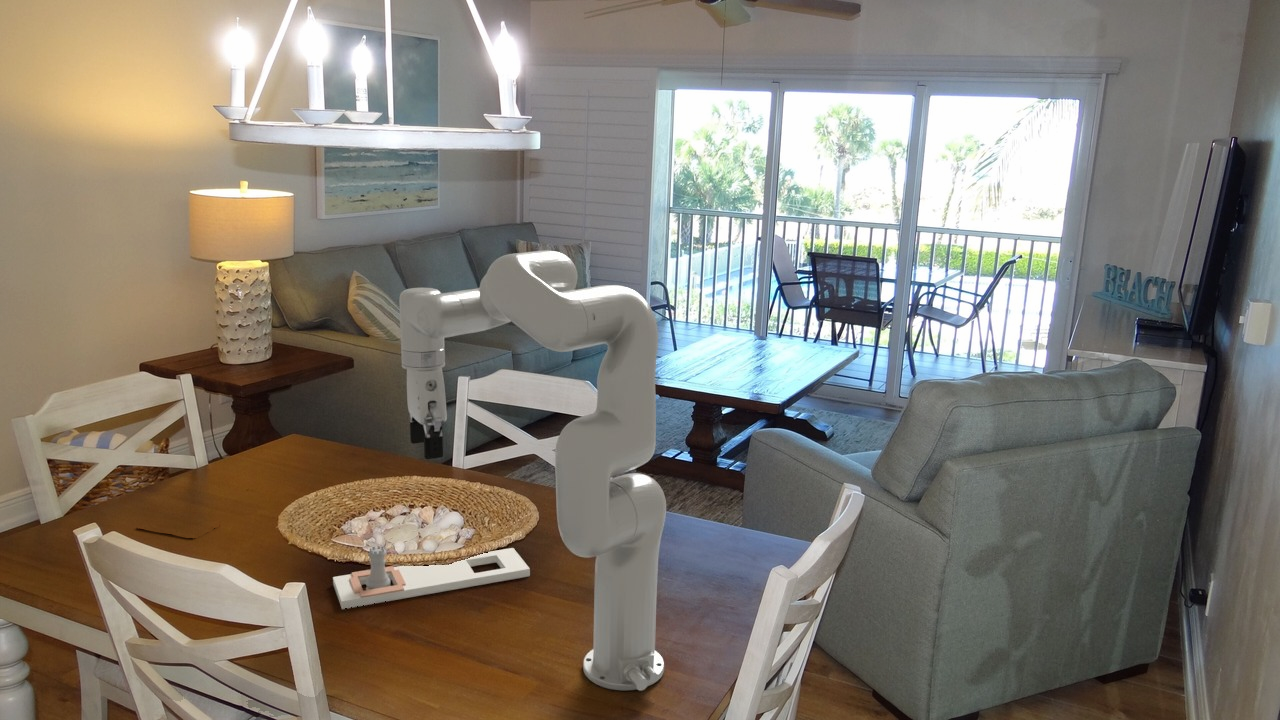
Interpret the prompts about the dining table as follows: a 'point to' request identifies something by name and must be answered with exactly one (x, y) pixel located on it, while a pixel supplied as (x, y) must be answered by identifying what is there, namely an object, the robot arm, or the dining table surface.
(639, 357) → the robot arm
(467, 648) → the dining table surface
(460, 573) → the white board with slots
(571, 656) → the dining table surface
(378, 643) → the dining table surface
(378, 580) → the rook chess piece
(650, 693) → the dining table surface
